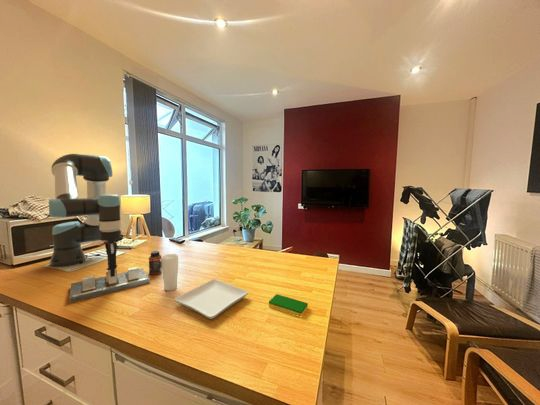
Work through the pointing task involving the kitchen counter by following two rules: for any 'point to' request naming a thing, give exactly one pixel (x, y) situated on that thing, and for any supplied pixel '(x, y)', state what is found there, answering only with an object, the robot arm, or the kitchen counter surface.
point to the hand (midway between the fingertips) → (112, 282)
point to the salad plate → (211, 298)
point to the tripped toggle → (108, 277)
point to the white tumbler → (170, 271)
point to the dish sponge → (288, 305)
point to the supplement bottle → (155, 263)
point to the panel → (107, 284)
